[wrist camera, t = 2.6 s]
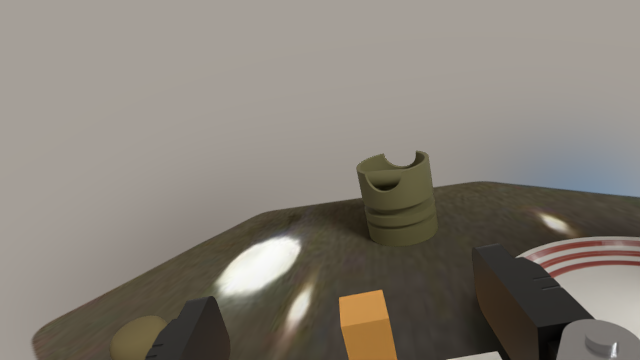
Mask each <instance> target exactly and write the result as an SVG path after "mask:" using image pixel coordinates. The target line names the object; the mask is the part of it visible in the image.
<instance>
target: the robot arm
mask: <svg viewBox="0 0 640 360" xmlns="http://www.w3.org/2000/svg"><path fill="white" fill-rule="evenodd" d="M472 261H473V270H474V279H475V288H476V295H477V300H478V303H479V306H480V309H481V311H482V313H483V315H484V317H485V318H486V320H487V321H488V323H489V325H490V326H491V328H492V330H493V331H494V333H495V335H496V336H497V338H498V339H499V341H500V343H501V344H502V346H503V348H504V349H505V351H506V352H507V354H508V356H509V357H510V359H511V360H640V339H639V338H638V337H637V336H636V335H634V334H633V333H632V332H630V331H629V330H627V329H625V328H624V327H621V326H619V325H617V324H614V323H611V322H607V321H603V320H596V319H595V318H594V317H593V316H592V315H591V314H590V313H589V312H588V311H587V310H586V309H585V308H584V307H582V306H581V305H580V304H579V303H578V302H577V301H576V300H575V299H574V298H573V297H572V296H571V295H570V294H569V293H568V292H567V291H566V290H565V289H564V288H563V287H561V286H560V284H559V283H558V282H557V281H556V280H555V279H554V278H551V275H550V274H549V273H548V272H547V271H546V270H545V269H544V268H543V267H542V266H541V265H539V264H537V263H535V262H533V261H531V260H529V259H527V258H525V257H517V258H513V257H512V256H511V255H510V254H509V253H508V252H507V251H506V250H505V249H504V247H503V246H502V245H501V244H492V245H487V246H482V247H476V248H473V249H472ZM229 356H230V340H229V336H228V333H227V330H226V327H225V324H224V321H223V318H222V316H221V313H220V310H219V307H218V304H217V302H216V300H215V298H214V297H213V296H209V297H203V298H198V299H193V300H188V301H187V302H186V304H185V306H184V307H183V309H182V311H181V313H180V315H179V316H178V318H177V319H174V320H172V321H171V322H170V323H169V324H168V325H167V326H166V327H165V328H164V329H163V330H162V331H161V332H160V333H159V334H158V336H157V338H156V339H155V341H154V343H153V345H152V348H150V350H149V351H148V353H147V355H146V356H145V360H229Z"/></svg>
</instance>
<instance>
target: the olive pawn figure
mask: <svg viewBox="0 0 640 360" xmlns="http://www.w3.org/2000/svg"><path fill="white" fill-rule="evenodd" d="M167 325H168V324H167V323H166V322H165V321H164V320H163V319H162V318H160V317H158V316H144V317H140V318H138V319H135V320H133V321H131V322H129V323H127V324H126V325H125V326H123V327H122V328H121V329H120V330H119V331H118V332H117V333H116V334H115V335H114V337H113V338H112V340H111V345H110V350H109V351H110V356H111V358H112V360H145V356H146V355H147V353H148V351H149V350H150V348H152V345H153V343H154V341H155V339H156V338H157V336H158V334H159V333H160V332H161V331H162V330H163V329H164V328H165V327H166V326H167Z"/></svg>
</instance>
